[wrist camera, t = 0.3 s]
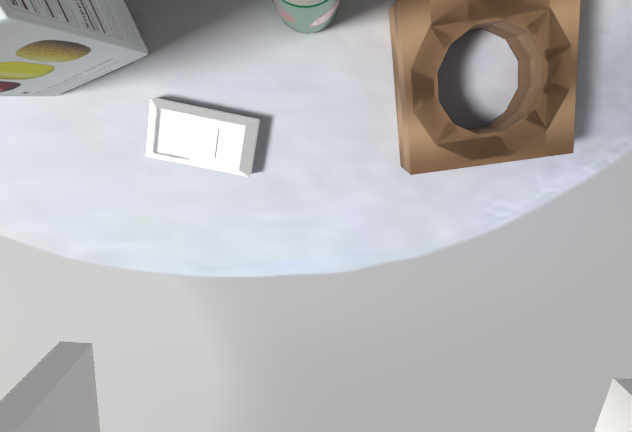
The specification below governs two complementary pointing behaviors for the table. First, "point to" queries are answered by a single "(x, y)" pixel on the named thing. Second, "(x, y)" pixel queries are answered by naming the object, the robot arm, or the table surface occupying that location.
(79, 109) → the table surface
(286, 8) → the soda can
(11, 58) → the supplement box
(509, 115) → the square wooden ring holder
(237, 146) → the soap bar
